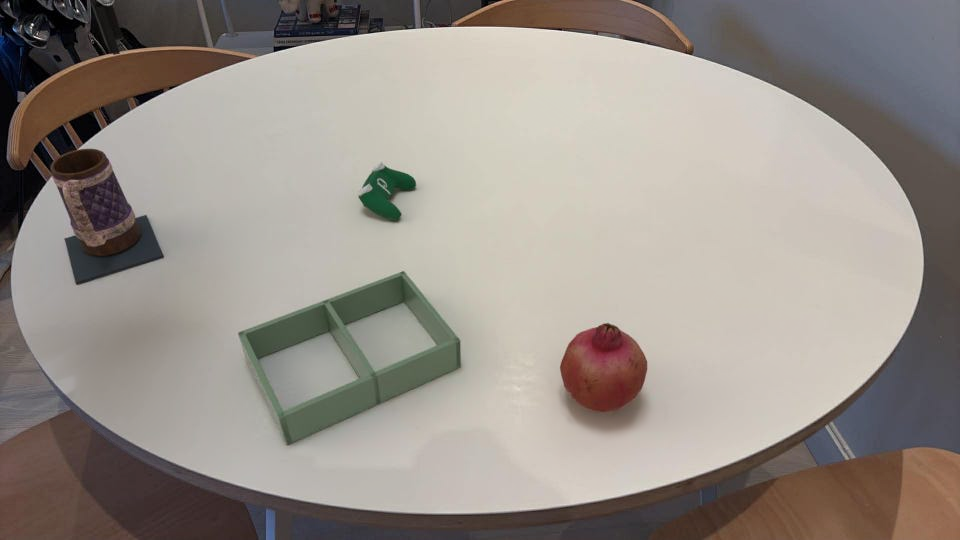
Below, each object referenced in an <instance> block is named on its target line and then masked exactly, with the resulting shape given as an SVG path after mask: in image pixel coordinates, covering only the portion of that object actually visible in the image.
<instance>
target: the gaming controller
mask: <svg viewBox="0 0 960 540" xmlns="http://www.w3.org/2000/svg"><path fill="white" fill-rule="evenodd" d="M416 186H417V181H416V179H415V178H414V177H413V176H412V175H410V173H409V174H408V173H406V172H403V171H400V170H396V169H392V168H389V167H387V165H385V164H384V163H383V162H380V163H378V164H377V165H375V166H374V167H373V169H372V170H371V172H370V173H369V175H368V177H367V178H366V179H365V181H364V183H363V185H362V187H361V188H360V190H358V191H359V192H358V200H359V201H360V202H361V203H362V206H364V208H367V209H368V210H369V211H370V212H372V213H374V214H376V215H378V216H380V217H383V218H385V219H388V220H392V221H399V220H400V218H401V217H402V212H401V210H400V209H399V208H398V207H397V205H395V204H394V203H392V202H391V201H390V198H391V196H392V195H393V193H394V191H395V190H403V191H411V190H415V188H416Z"/></svg>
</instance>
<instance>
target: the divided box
mask: <svg viewBox="0 0 960 540" xmlns="http://www.w3.org/2000/svg"><path fill="white" fill-rule="evenodd" d="M401 303H405V305H406V306H407V308H408V309H409V310H410V311H411V313H412V314H413V315H414V316H415V318H416V319H417V320H418V321H419V323H420V324H421V325H422V327H423V328H424V330H425V331H426V332H427V333H428V335H429V336H430V337H431V338H432V340H433V341H434V342H435V343H436V345H434V346H432V347H430V348H428V349H425V350H423V351H421V352H418V353H417V354H414V355H412V356H411V355H410V356H409V357H407V358H404V359H402V360H400V361H397V362H395V363H393V364H390V365H388V366H386V367H383V368H381V369H379V370H377V371H375V370H374V368H373V366H372V365H371V364H370V362H369V361H368V359H367V358H366V356H365V354H364V353H363V351H362V350H361V348H360V346H359V345H358V344H357V342H356V341H355V338H354V337H353V336H352V334H351V333H350V331H349V329H348V328H347V327H346V325H348V324H350V323H352V322H355V321H358V320H361V319H363V318H365V317H368V316H370V315H373V314H376V313H378V312H382V311H384V310H386V309H389V308H391V307H394V306H396V305H398V304H401ZM327 332H330V334H331V335H332V337H333V338H334V340H335V342H336V343H337V345H338V346H339V349H340V350H341V352H342V353H343V355H344V356H345V358H346V359H347V361H348V362H349V364H350V366H351V368H352V369H353V371H354V372H355V373H356V375H357V377H358V379H356V380H353V381H351V382H348V383H346V384H343V385H342V386H339V387H337V388H334V389H332V390H330V391H328V392H325V393H323V394H321V395H318V396H316V397H313V398H311V399H309V400H306V401H304V402H301V403H300V404H297V405H294V406H292V407H290V408H288V409H286V410H283V408H282V406H281V404H280V401H279V400H278V398H277V396H276V394H275V391H274V389H273V387H272V386H271V383H270V381H269V380H268V377H267V375H266V374H265V371H264V369H263V368H262V365H261V362H260V361H259V359H260V358H263V357H266V356H269V355H271V354H274V353H276V352H278V351H281V350H284V349H287V348H289V347H291V346H294V345H296V344H297V345H298V344H299V343H301V342H304V341H307V340H310V339H312V338H314V337H318V336H319V335H322V334H325V333H327ZM237 335H238V338H239V341H240V344H241V347H242V350H243V354H244V357H245V360H246V362H247V365H248V366H249V368H250V370H251V372H252V375H253V377H254V379H255V381H256V383H257V385H258V387H259V390H260V391H261V394H262V396H263V398H264V400H265V402H266V404H267V406H268V408H269V411H270V413H271V415H272V417H273V419H274V420H275V424H276V425H277V427H278V430H279V431H280V434H281V436H282V438H283V441H284V442H285V444H286V446H290V445H291V444H293V443H294V442H297V441H299V440H302V439H304V438H306V437H309V436H310V435H313V434H315V433H317V432H319V431H322V430H324V429H326V428H329V427H332V426H333V425H335V424H337V423H340V422H342V421H344V420H347V419H349V418H351V417H353V416H355V415H357V414H359V413H362V412H365V411H366V410H369V409H370V408H373V407H375V406H377V405H380V404H382V403H384V402H386V401H388V400H390V399H391V400H392V399H393V398H395V397H398V396H400V395H403V394H405V393H407V392H409V391H411V390H413V389H416V388H417V387H418V388H419V387H420V386H422V385H424V384H427V383H428V382H431V381H433V380H435V379H438V378H440V377H442V376H444V375H446V374H449V373H451V372H453V371H455V370H457V369H460V368H462V352H461V351H462V350H461V349H462V348H461V347H462V346H461V339H460V338H459V337H458V336H457V334H456V333H455V332H454V331H453V330H452V328H451V327H450V326H449V324H448V323H447V322H446V321H445V319H444V318H443V317H442V316H441V315H440V314H439V312H438V311H437V309H436V308H435V307H434V306H433V305H432V303H431V302H430V301H429V300H428V299H427V298H426V296H425V295H424V294H423V292H422V291H421V290H420V288H418V286H417V285H416V283H414V282H413V280H412V279H411V278H410V276H409V275H408V274H407V273H406V271H405V270H402V271H400V272H397V273H394V274H391V275H389V276H386V277H384V278H381V279H377V280H376V281H373V282H370V283H367V284H365V285H362V286H360V287H357V288H354V289H352V290H349V291H346V292H344V293H340V294H338V295H335V296H331V297H330V298H327V299H325V300H321V301H319V302H316V303H313V304H311V305H308V306H306V307H302V308H300V309H298V310H295V311H292V312H290V313H286V314H284V315H282V316H278V317H276V318H274V319H270V320H269V321H266V322H262V323H260V324H258V325H255V326H252V327H249V328H246V329H244V330H242V331H239V332H237Z"/></svg>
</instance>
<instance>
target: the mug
mask: <svg viewBox="0 0 960 540" xmlns="http://www.w3.org/2000/svg"><path fill="white" fill-rule="evenodd" d="M49 169H50V172H51V178H52V180H53V182H54V184H55V186H56V188H57V191H58V193H59V195H60V197H61V201H62V202H63V206H64V208H65V210H66V212H67V215H68V217H69V219H70V224H69V225H70V227H71V229H72V231H73V234H74V236H75V235H76V237H77V238H78V239H79V242H80V244H81V247H82V249H83V250H84V251H85V252H87V253H89V254H91V255H97V256H109V255H113V254H117V253H120V252H122V251H125V250H126V249H128V248H130V247H131V246H132V245H133V244H134V243H135V242H136V241H137V240H138V238H139V236H140V229H139V226H138V224H137V222H136V218H137V217H136V214H135V212H134V209H133V207H132V205H131V204H130V203H129V202H128V200H127V198H126V196H125V194H124V192H123V189H122V187H121V185H120V183H119V180H118V178H117V176H116V173H115V171H114V168H113V165H112V163H111V161H110V160H109V158H108V157H107V155H106V153H105V152H104V151H103V150H100V149H97V148H80V149H76V150H72V151H69V152H66V153H63V154H61V155H60V156H58V157H57V158H55V159H54V160H53V161H52V163H51V164H50V168H49Z"/></svg>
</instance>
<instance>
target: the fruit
mask: <svg viewBox="0 0 960 540" xmlns="http://www.w3.org/2000/svg"><path fill="white" fill-rule="evenodd" d="M559 369H560V370H559V371H560V377H561V380H562V383H563V386H564V389H566V391H567V393H568V394H570V396H571V397H572V398H573V400H574V401H575V402H576V403H578V404H580V406H582V407H584V408H586V409H587V410H590V411H594V412H598V413H601V414H603V413H608V412H612V411H617V410H619V409H621V408H623V407H625V406H627V405H629V403H631V402H632V401H633V400H635V399H636V398H637V396H638V395H639V393H640V392H641V391H642V389H643V387H644V384H645V381H646V377H647V372H648V359H647V357H646V355H645V352H644V351H643V350H642V348H641V346H640V345H639V343H638V341H636V340H635V339H634V338H633V337H632V336H630V335H629V334H628V333H626V332H625V331H623V330H622V329H620V328H619V327H618V326H617V325H614V324H612V323H609V322H605V323H603V324H600V325H598V326H597V327H591V328H589V329H586V330H583V331H581V332H579V333H577V334H576V335H575V336H574V337H573V338H572V339H571V340H570V342H569V343H568V344H567V346H566V349H565V351H564V354H563V356H562V359H561V362H560V365H559Z"/></svg>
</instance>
